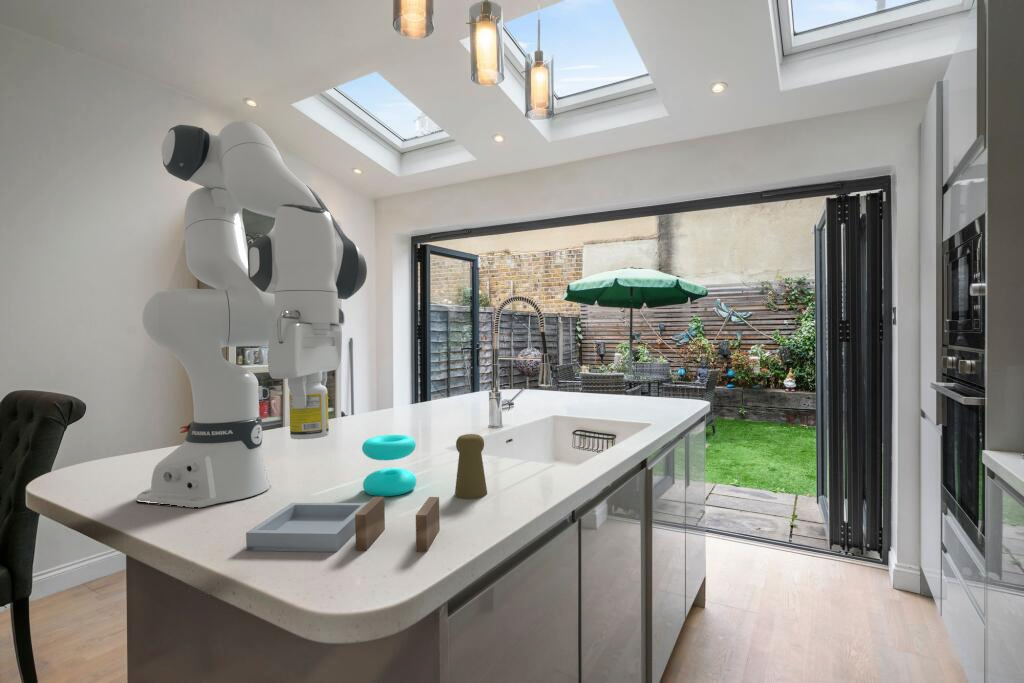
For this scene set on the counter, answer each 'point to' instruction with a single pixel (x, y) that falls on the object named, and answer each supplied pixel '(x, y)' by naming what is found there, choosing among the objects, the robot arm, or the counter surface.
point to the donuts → (392, 478)
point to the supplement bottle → (311, 411)
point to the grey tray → (305, 528)
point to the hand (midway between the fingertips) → (309, 404)
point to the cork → (470, 467)
